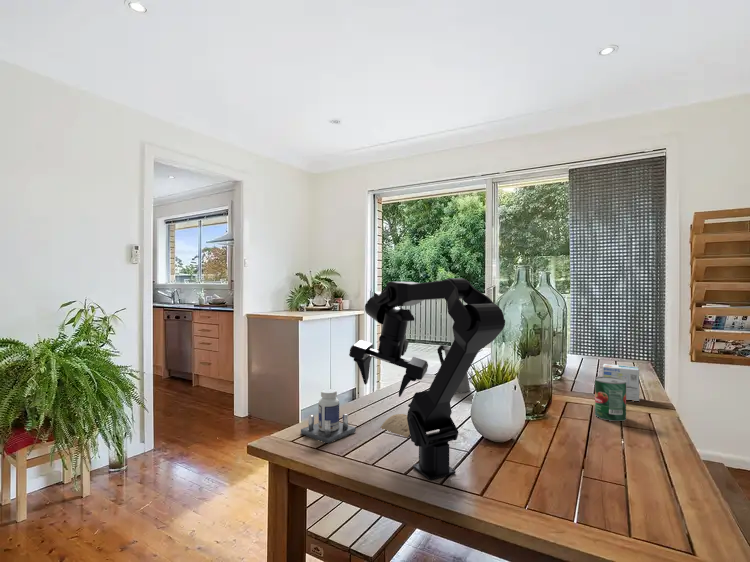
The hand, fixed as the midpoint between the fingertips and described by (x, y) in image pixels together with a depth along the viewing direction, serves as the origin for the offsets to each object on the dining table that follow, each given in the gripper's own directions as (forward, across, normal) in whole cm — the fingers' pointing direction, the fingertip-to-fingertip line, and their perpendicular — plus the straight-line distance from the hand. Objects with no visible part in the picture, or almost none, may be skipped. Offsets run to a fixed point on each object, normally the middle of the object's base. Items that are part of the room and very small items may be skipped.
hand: (382, 389), depth 100 cm
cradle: (+15, +11, +3) cm, 19 cm away
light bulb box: (+8, -66, -61) cm, 91 cm away
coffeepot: (+20, -13, -52) cm, 57 cm away
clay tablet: (+14, -6, -9) cm, 18 cm away
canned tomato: (+5, -59, -37) cm, 70 cm away
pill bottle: (+14, +11, +3) cm, 19 cm away
